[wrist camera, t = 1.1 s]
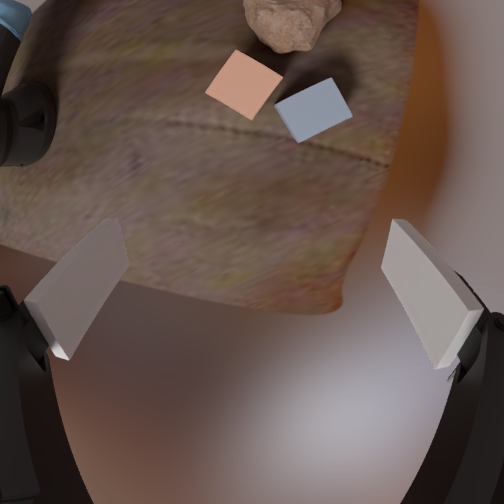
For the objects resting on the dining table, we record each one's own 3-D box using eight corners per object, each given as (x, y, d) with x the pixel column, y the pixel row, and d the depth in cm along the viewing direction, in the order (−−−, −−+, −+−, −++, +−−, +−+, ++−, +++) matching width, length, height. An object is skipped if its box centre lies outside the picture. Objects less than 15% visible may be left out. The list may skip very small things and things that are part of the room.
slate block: (273, 105, 31) (275, 104, 26) (320, 81, 29) (331, 77, 24) (293, 137, 33) (298, 143, 28) (339, 114, 31) (352, 116, 26)
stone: (272, 64, 30) (322, 68, 23) (217, 27, 24) (259, 14, 17) (314, 6, 26) (367, 2, 19) (267, -32, 20) (317, -50, 13)
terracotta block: (214, 95, 31) (205, 92, 26) (240, 58, 28) (235, 49, 23) (253, 118, 32) (251, 120, 27) (280, 82, 30) (283, 77, 25)
